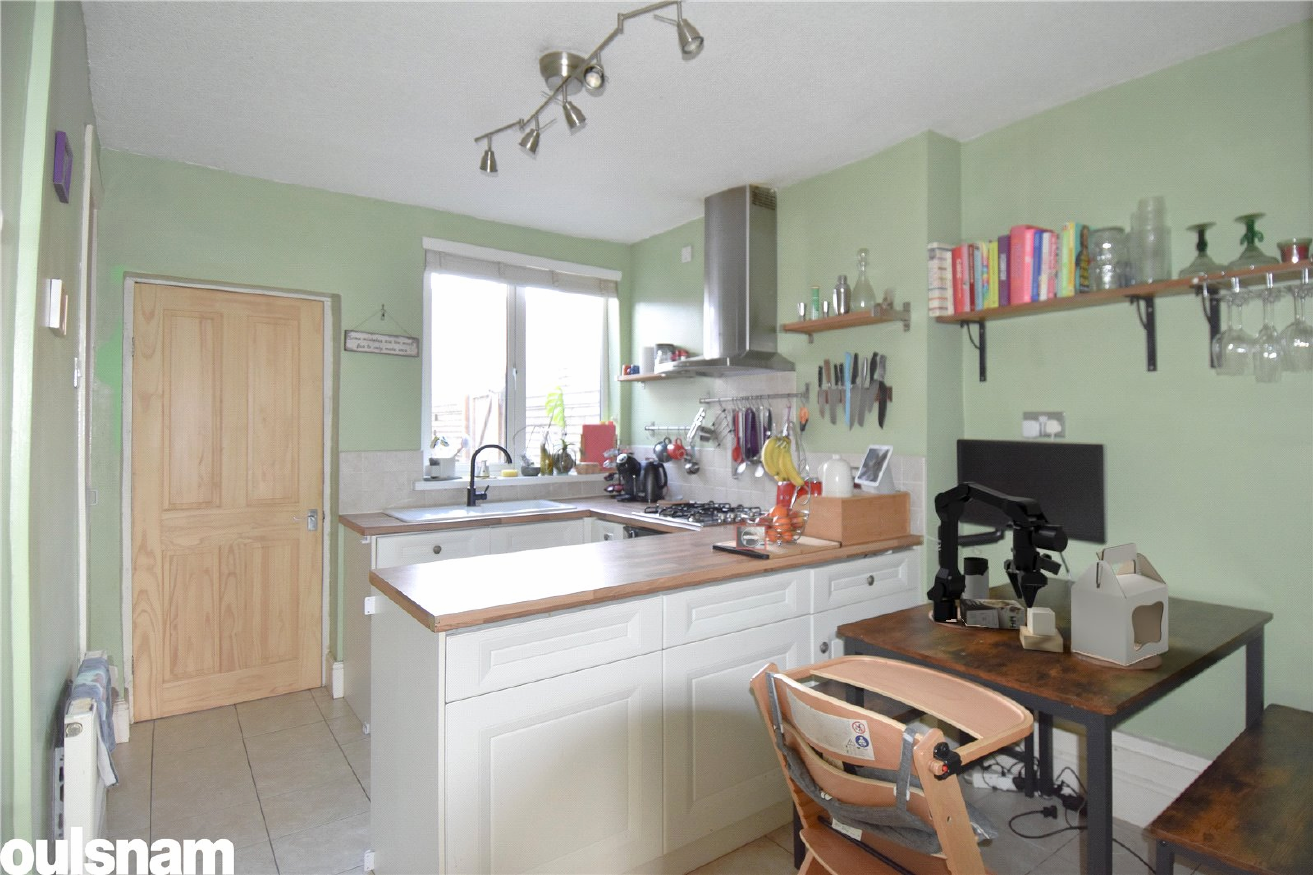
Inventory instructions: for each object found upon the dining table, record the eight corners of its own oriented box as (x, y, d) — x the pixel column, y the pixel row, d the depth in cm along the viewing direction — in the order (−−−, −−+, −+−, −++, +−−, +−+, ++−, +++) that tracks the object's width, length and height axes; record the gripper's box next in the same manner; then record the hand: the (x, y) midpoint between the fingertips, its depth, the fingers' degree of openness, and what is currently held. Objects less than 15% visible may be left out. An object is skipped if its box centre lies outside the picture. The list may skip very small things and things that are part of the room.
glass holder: (991, 608, 218) (991, 562, 217) (944, 604, 223) (943, 559, 223) (989, 601, 226) (989, 557, 225) (943, 597, 231) (943, 554, 231)
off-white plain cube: (1032, 634, 180) (1032, 612, 180) (1027, 628, 185) (1027, 606, 185) (1055, 635, 178) (1055, 613, 178) (1049, 629, 183) (1049, 607, 183)
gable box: (1114, 637, 187) (1114, 538, 187) (1169, 650, 176) (1169, 545, 175) (1070, 652, 176) (1069, 546, 176) (1125, 667, 165) (1125, 554, 164)
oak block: (1024, 650, 179) (1024, 635, 179) (1019, 639, 188) (1019, 625, 188) (1062, 653, 176) (1062, 638, 176) (1056, 643, 184) (1056, 628, 184)
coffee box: (1025, 608, 195) (966, 606, 198) (1025, 630, 195) (966, 627, 198) (1015, 599, 204) (958, 597, 207) (1015, 620, 204) (958, 618, 207)
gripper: (1070, 553, 169) (1070, 615, 170) (1046, 540, 187) (1046, 595, 188) (1021, 552, 172) (1021, 612, 172) (1003, 539, 190) (1003, 593, 190)
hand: (1024, 603), depth 181 cm, fingers open, 9 cm apart
